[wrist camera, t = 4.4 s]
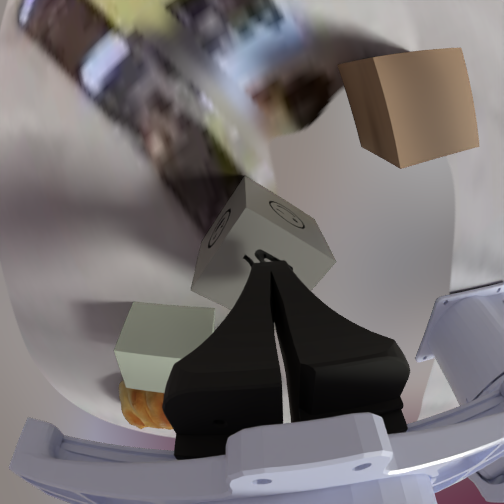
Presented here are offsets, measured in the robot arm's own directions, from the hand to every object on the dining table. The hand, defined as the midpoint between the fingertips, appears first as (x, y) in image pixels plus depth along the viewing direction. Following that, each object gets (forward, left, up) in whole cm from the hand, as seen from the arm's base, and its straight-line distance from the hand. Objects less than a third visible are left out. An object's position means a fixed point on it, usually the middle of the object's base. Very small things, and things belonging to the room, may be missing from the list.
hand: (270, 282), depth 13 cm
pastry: (+10, +17, -7) cm, 21 cm away
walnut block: (-8, -7, -7) cm, 13 cm away
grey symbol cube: (0, +1, -7) cm, 7 cm away
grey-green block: (+7, +8, -7) cm, 13 cm away
